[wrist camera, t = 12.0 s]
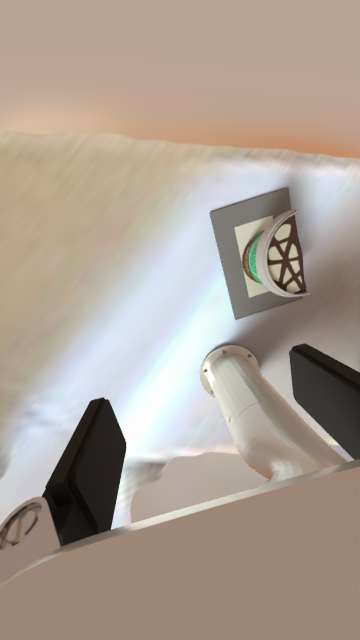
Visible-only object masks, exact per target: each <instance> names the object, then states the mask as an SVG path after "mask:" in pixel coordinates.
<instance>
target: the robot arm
mask: <svg viewBox="0 0 360 640" xmlns="http://www.w3.org/2000/svg"><path fill="white" fill-rule="evenodd" d="M223 350H224V351H223ZM289 355H290V365H291V376H292V386H293V395H294V398H295V400H296V401H297V403H298V404H299V405H300V406H301V407H302V408H303V409H304V410H305V411H306V412H307V413H308V414H309V415H310V416H311V417H312V418H313V419H314V420H315V421H316V422H317V423H318V424H319V425H320V426H321V427H322V428H323V429H324V430H325V431H326V432H327V433H328V434H329V435H330V436H331V437H332V438H333V439H334V440H335V441H336V442H337V443H338V444H339V445H340V446H341V447H342V448H343V449H344V450H345V451H346V452H347V453H348V454H349V455H350V456H351V457H352V458H353V459H355V460H354V461H350V462H349V461H347V460H346V459H345V458H344V457H343V456H341V455H340V454H339V453H338V452H337V451H336V450H334V449H333V448H332V447H331V446H330V445H329V444H328V443H327V442H325V441H324V440H323V439H322V438H321V437H320V436H319V435H318V434H317V433H316V432H315V431H314V430H313V429H312V428H311V427H310V426H309V425H308V424H307V423H306V422H305V421H304V420H303V419H302V418H301V417H300V416H299V415H298V413H297V412H296V411H295V410H294V409H293V408H292V407H291V406H290V405H289V404H288V403H287V402H286V401H285V399H284V398H283V397H282V396H281V395H280V394H279V393H278V392H277V391H276V390H275V389H274V388H273V386H272V385H271V384H270V383H269V382H268V381H267V380H266V379H265V378H264V377H263V376H262V375H261V373H260V372H259V364H258V361H257V359H256V358H255V356H254V355H253V354H252V353H251V352H250V351H249V350H248V349H246V348H244V347H241V346H238V345H226V346H222V347H220V348H218V349H215V350H214V351H213V352H211V353H210V354H209V355H208V356H207V357H206V359H205V360H204V362H203V364H202V366H201V370H200V378H201V382H202V385H203V387H204V389H205V390H206V392H207V393H208V394H210V395H211V396H212V397H215V398H216V400H217V402H218V405H219V407H220V410H221V412H222V414H223V417H224V419H225V422H226V424H227V427H228V429H229V431H230V434H231V436H232V439H233V441H234V443H235V446H236V448H237V450H238V452H239V454H240V456H241V457H242V459H243V460H244V461H245V462H246V463H247V464H248V465H249V466H250V467H251V468H252V469H254V470H255V471H256V472H258V473H259V474H261V475H263V476H264V477H266V478H268V479H270V480H268V481H267V482H265V483H264V484H263V485H261V486H260V487H257V488H253V489H250V490H246V491H243V492H240V493H236V494H232V495H229V496H225V497H222V498H218V499H215V500H211V501H208V502H204V503H201V504H197V505H194V506H190V507H187V508H183V509H180V510H176V511H173V512H170V513H167V514H163V515H159V516H156V517H152V518H149V519H145V520H142V521H139V522H135V523H132V524H129V525H125V526H122V527H119V528H116V529H113V530H111V525H112V520H113V515H114V510H115V504H116V499H117V494H118V489H119V484H120V478H121V473H122V468H123V463H124V458H125V453H126V441H125V438H124V436H123V433H122V431H121V428H120V426H119V424H118V421H117V419H116V416H115V414H114V411H113V409H112V406H111V404H110V402H109V400H108V399H107V400H105V398H99V399H95V400H92V401H90V403H89V405H88V407H87V409H86V411H85V413H84V414H83V416H82V418H81V420H80V422H79V424H78V426H77V428H76V430H75V432H74V433H73V435H72V437H71V439H70V441H69V443H68V445H67V447H66V449H65V451H64V452H63V454H62V456H61V458H60V460H59V462H58V464H57V466H56V468H55V470H54V472H53V473H52V475H51V477H50V479H49V481H48V483H47V485H46V487H45V488H46V489H45V491H44V493H43V495H42V497H35V498H32V499H30V500H28V501H26V502H24V503H23V504H21V505H20V506H19V507H17V508H16V509H15V510H14V511H13V512H12V513H11V514H10V515H9V516H8V517H7V518H6V519H5V520H4V522H3V523H2V524H1V526H0V640H360V373H359V372H358V371H356V370H354V369H352V368H350V367H348V366H346V365H345V364H343V363H341V362H339V361H337V360H335V359H333V358H331V357H330V356H328V355H326V354H324V353H322V352H320V351H318V350H317V349H315V348H313V347H311V346H309V345H307V344H300V345H297V346H293V347H292V350H290V352H289Z"/></svg>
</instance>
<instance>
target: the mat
mask: <svg viewBox="0 0 360 640" xmlns="http://www.w3.org/2000/svg"><path fill="white" fill-rule="evenodd" d="M289 210H291V205H290V198H289V190H288V188H285V189H282V190H279V191H275V192H272V193H269V194H266V195H263V196H260V197H257V198H254V199H251V200H248V201H244V202H241V203H238V204H235V205H232V206H229V207H226V208H223V209H220V210H216V211H213V212H210V217H211V221H212V225H213V229H214V234H215V238H216V242H217V246H218V250H219V254H220V259H221V263H222V267H223V271H224V275H225V279H226V284H227V288H228V292H229V296H230V300H231V304H232V309H233V313H234V317H235V320H237V319H240V318H243V317H246V316H249V315H252V314H255V313H258V312H262V311H265V310H268V309H271V308H274V307H277V306H280V305H283V304H286V303H289V302H292V301H295V300H298V299H301V298H303V296H298V297H284V296H279V295H277V294H275V293H273V292H271V291H270V290H268V289H267V288H266V287H265V286H264V285H263V284H260V283H257V282H255V281H253V280H251V279H250V278H249V277H248V276H247V275H246V273H245V271H244V269H243V265H242V255H243V252H244V249H245V247H246V245H247V244H248V242H249V241H250V240H251V239H252V238H253V237H254V236H255V235H257V234H258V233H260V232H262V231H263V230H265V229H266V228H267V227H268V225H269V224H270V223H271V222H272V221H273V220H274V219H275V218H277V217H278V216H280V215H281V214H283V213H285V212H287V211H289Z"/></svg>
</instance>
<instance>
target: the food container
mask: <svg viewBox="0 0 360 640" xmlns="http://www.w3.org/2000/svg"><path fill="white" fill-rule="evenodd" d="M298 212H299V211H297V212H296V210H289V211H287V212H285V213H283V214H281V215H280V216H278V217H277V218H275V219H274V220H273V221H272V222H271V223H270V224H269V225H268V227H267V228H266V229H265V230H263V231H262V232H260V233H258V234H257V235H255V236H254V237H253V238H252V239H251V240H250V241H249V242H248V244H247V245H246V247H245V249H244V252H243V255H242V265H243V269H244V271H245V273H246V275H247V276H248V277H249V278H250V279H251V280H253V281H255V282H257V283H260V284H263V285H264V286H265V287H266V288H267V289H268V290H270V291H271V292H273V293H275V294H277V295H279V296H284V297H298V296H305V295H309V294H311V293H310V292H307V291H306V286H305V282H304V274H303V257H302V251H301V247H300V243H299V239H298V235H297V228H296V221H295V215H294V214H296V213H298Z"/></svg>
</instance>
